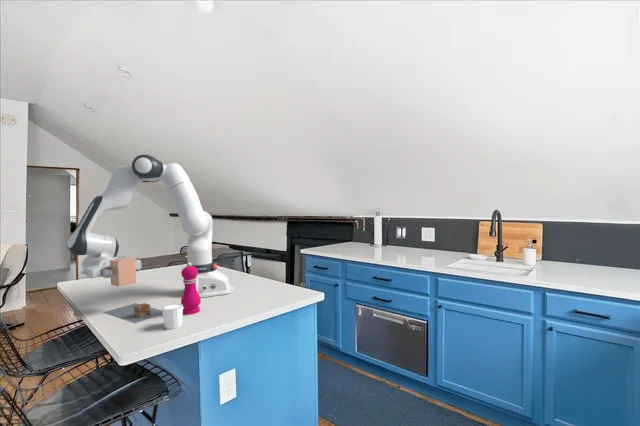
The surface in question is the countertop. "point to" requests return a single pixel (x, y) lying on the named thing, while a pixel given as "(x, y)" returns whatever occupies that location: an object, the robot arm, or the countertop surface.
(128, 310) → the mat
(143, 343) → the countertop surface
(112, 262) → the tan rectangular block
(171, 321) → the white cup
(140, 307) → the block
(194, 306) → the pepper mill
